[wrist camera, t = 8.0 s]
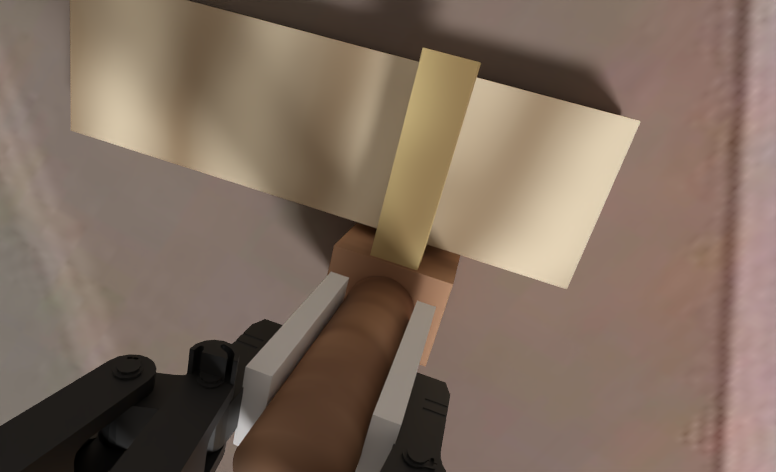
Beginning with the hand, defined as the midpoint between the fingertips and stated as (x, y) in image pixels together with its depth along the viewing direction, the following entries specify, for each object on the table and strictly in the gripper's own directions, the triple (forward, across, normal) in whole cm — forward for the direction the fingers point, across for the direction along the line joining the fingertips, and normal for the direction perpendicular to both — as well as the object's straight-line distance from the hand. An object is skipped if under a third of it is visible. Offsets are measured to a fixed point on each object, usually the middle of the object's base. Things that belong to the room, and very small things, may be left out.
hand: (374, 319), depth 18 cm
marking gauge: (+5, 0, +4) cm, 6 cm away
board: (+5, -5, +6) cm, 9 cm away
